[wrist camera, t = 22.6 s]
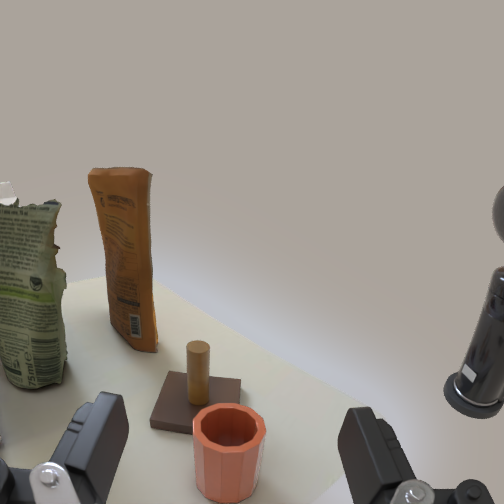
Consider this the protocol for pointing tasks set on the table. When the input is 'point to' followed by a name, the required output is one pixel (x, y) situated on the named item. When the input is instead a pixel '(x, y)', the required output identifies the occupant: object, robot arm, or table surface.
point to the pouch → (31, 295)
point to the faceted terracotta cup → (227, 451)
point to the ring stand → (191, 392)
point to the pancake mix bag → (127, 251)
